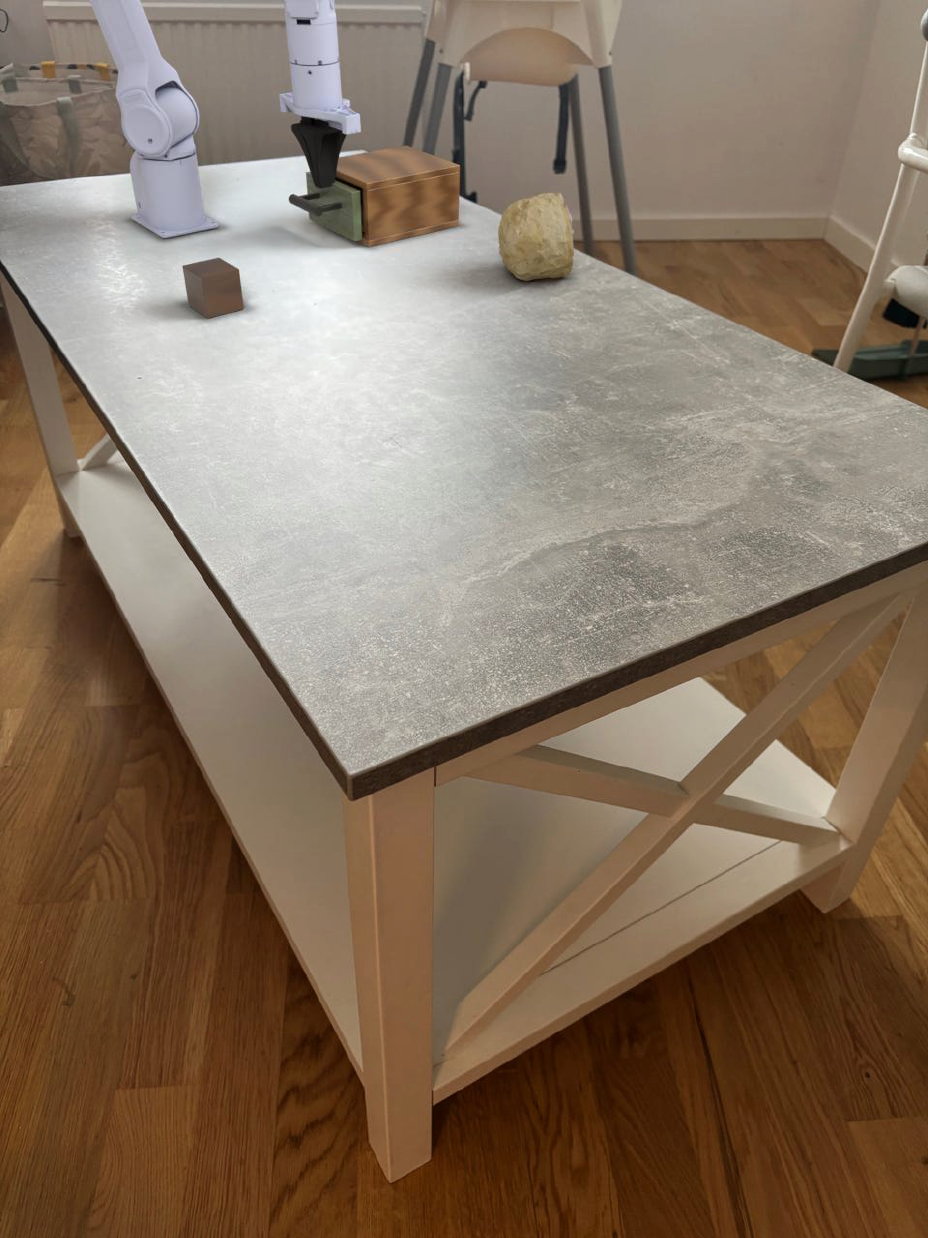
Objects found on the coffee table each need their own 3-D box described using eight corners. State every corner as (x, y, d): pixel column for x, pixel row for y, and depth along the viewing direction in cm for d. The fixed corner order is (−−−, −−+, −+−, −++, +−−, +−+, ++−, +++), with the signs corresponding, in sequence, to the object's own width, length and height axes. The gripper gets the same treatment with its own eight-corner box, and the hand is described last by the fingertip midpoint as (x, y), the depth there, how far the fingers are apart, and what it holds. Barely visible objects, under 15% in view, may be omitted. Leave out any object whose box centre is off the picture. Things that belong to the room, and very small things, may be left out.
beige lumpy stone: (609, 228, 107) (533, 193, 103) (564, 308, 113) (490, 277, 109) (587, 195, 114) (515, 161, 110) (546, 272, 120) (476, 242, 116)
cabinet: (369, 247, 121) (366, 183, 116) (318, 222, 127) (314, 161, 123) (458, 225, 128) (460, 164, 123) (406, 203, 135) (406, 145, 130)
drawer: (326, 247, 117) (323, 198, 114) (282, 224, 124) (277, 177, 120) (439, 221, 126) (439, 174, 123) (392, 201, 132) (391, 156, 129)
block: (188, 305, 105) (182, 265, 102) (224, 296, 107) (219, 256, 104) (207, 318, 102) (201, 277, 99) (244, 309, 104) (239, 268, 102)
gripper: (379, 66, 108) (385, 193, 116) (309, 47, 116) (320, 167, 125) (326, 74, 104) (337, 204, 113) (258, 54, 113) (273, 177, 122)
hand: (325, 186), depth 119 cm, fingers closed, pressing on drawer
